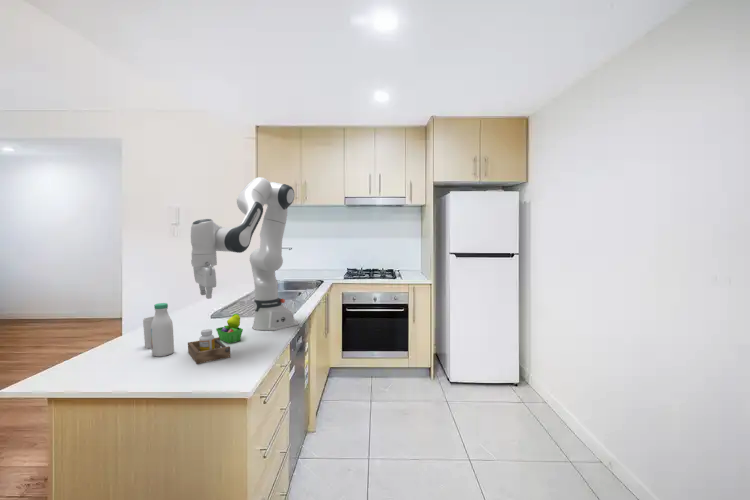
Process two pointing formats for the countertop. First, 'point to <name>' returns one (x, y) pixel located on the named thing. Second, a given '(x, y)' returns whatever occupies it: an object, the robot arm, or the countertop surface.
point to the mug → (147, 331)
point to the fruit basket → (231, 330)
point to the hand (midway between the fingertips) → (206, 296)
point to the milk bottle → (162, 331)
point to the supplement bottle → (206, 340)
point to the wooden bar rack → (208, 352)
